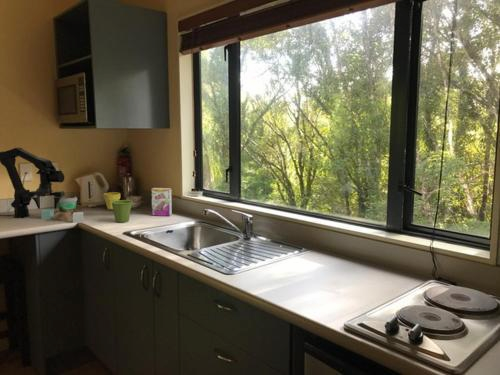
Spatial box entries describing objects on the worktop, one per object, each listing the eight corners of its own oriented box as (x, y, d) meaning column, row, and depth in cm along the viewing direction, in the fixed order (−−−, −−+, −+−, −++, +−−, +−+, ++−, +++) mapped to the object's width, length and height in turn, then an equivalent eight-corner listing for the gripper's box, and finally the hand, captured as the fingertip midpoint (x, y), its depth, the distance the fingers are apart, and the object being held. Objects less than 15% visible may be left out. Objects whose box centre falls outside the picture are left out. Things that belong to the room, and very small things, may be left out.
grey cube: (73, 223, 233) (72, 214, 232) (74, 221, 237) (73, 212, 237) (82, 222, 234) (82, 213, 233) (83, 220, 239) (83, 212, 238)
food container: (63, 216, 250) (62, 199, 249) (57, 215, 254) (56, 198, 253) (82, 213, 260) (81, 197, 259) (76, 212, 264) (75, 196, 262)
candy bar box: (151, 216, 253) (150, 188, 251) (154, 214, 258) (153, 187, 256) (169, 216, 252) (169, 189, 250) (172, 214, 257) (171, 188, 255)
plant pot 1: (104, 210, 270) (103, 195, 269) (104, 207, 280) (103, 192, 278) (121, 209, 273) (120, 194, 272) (120, 206, 283) (119, 192, 282)
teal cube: (41, 219, 242) (41, 210, 242) (45, 217, 247) (45, 209, 247) (50, 219, 242) (49, 210, 242) (54, 217, 247) (53, 209, 247)
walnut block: (53, 221, 238) (53, 214, 237) (59, 218, 245) (58, 211, 244) (66, 221, 238) (65, 214, 237) (71, 218, 245) (71, 212, 244)
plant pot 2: (125, 224, 230) (124, 203, 228) (106, 222, 234) (106, 202, 232) (137, 220, 241) (137, 200, 240) (119, 218, 245) (119, 199, 243)
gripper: (22, 183, 234) (23, 211, 236) (56, 183, 234) (57, 211, 236) (31, 181, 245) (33, 207, 247) (64, 181, 245) (65, 207, 248)
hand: (47, 208), depth 244 cm, fingers open, 9 cm apart
